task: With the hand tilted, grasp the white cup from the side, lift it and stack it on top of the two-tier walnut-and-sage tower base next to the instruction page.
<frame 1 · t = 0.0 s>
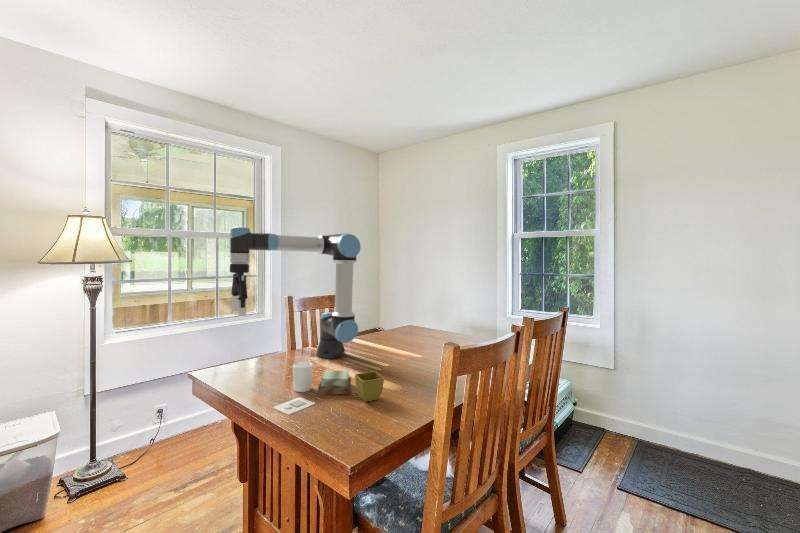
hand: (238, 312, 157), 28 cm above the table, tool pointing down, fingers open, 13 cm apart
tower base: (335, 389, 148), on the table
instruction page: (294, 405, 131), on the table
flower pot: (368, 399, 139), on the table
white cup: (302, 389, 147), on the table
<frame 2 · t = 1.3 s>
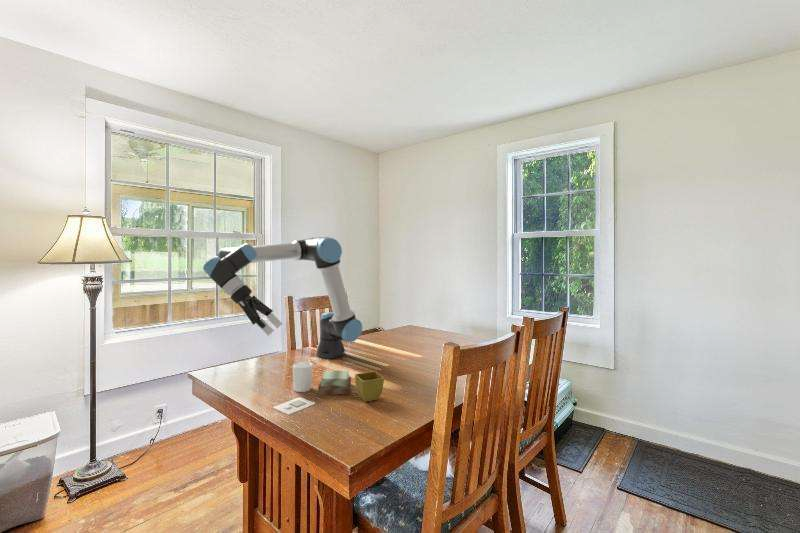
hand: (275, 329, 145), 24 cm above the table, tool tilted 45°, fingers open, 13 cm apart
nothing on the table moved.
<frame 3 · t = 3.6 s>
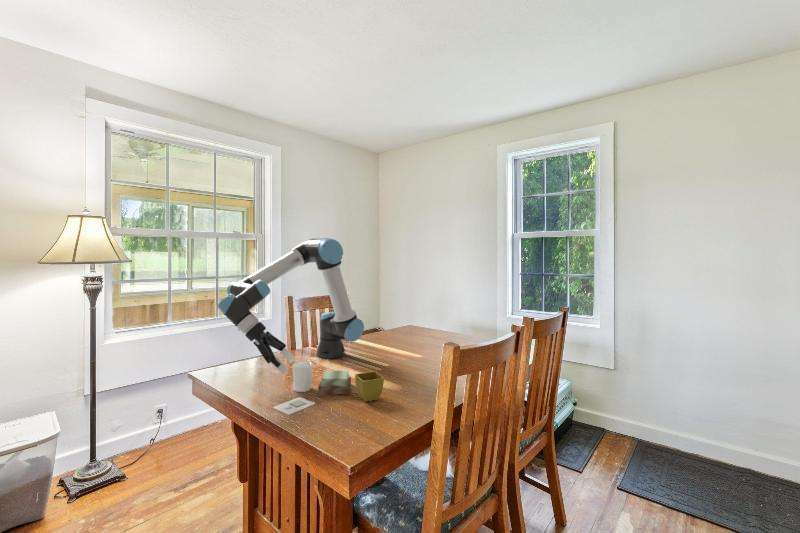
hand: (289, 366, 146), 10 cm above the table, tool tilted 45°, fingers open, 13 cm apart
nothing on the table moved.
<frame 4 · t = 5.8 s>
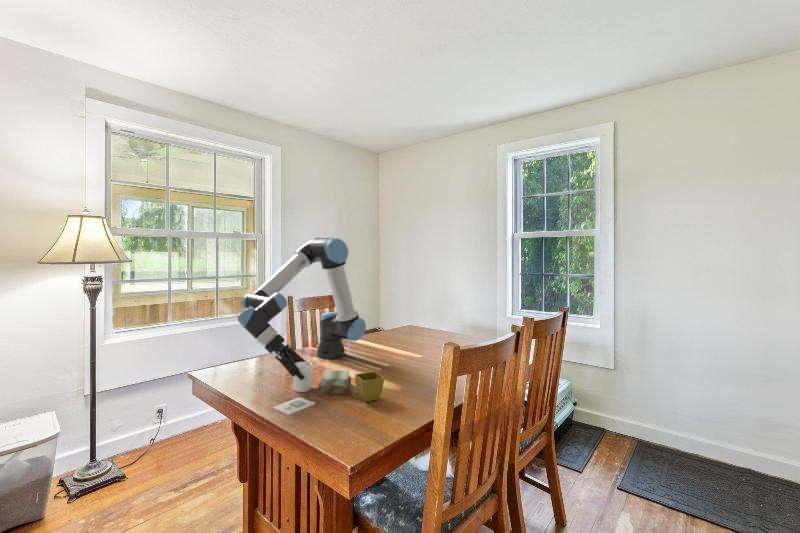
hand: (311, 380, 147), 4 cm above the table, tool tilted 45°, fingers closed on white cup, 8 cm apart
white cup: (302, 389, 147), on the table, touching gripper
everything else where it was.
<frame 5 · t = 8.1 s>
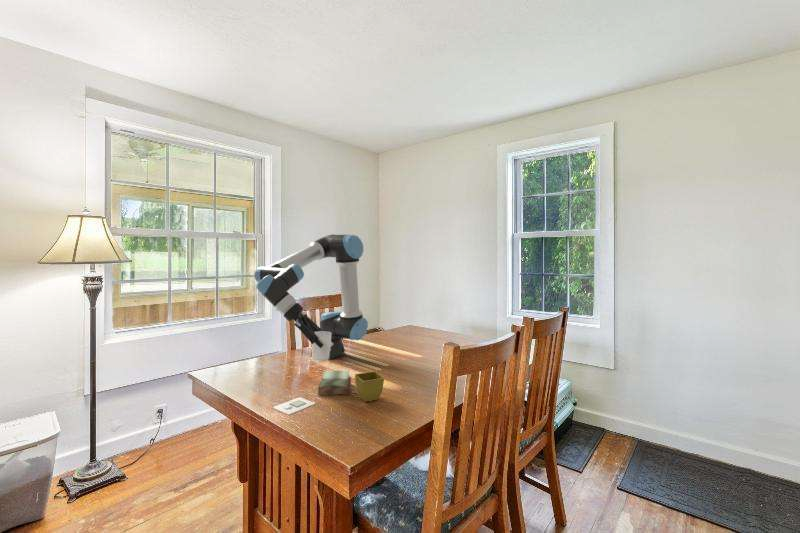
hand: (329, 349, 147), 16 cm above the table, tool tilted 45°, fingers closed on white cup, 8 cm apart
white cup: (320, 358, 147), point 13 cm above the table, touching gripper
everything else where it was.
when the fingers open (11 cm above the table, at t = 10.5 s): white cup drops 1 cm, resting on tower base.
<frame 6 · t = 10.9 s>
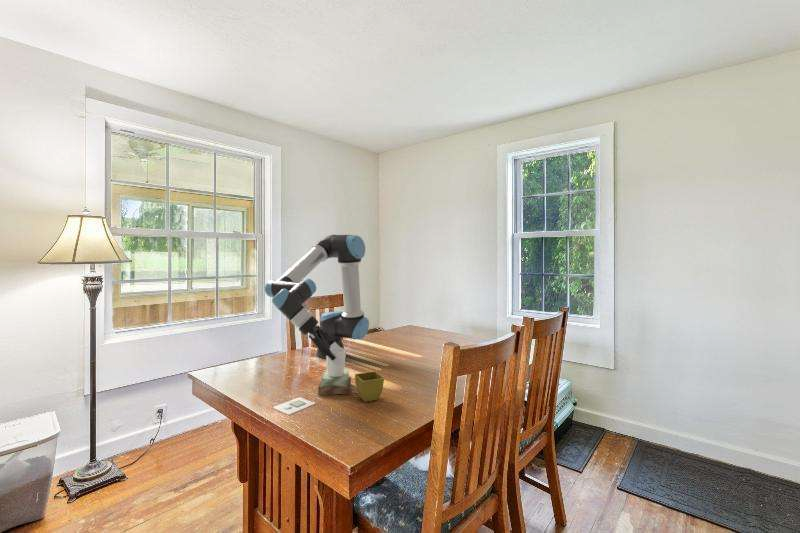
hand: (341, 359, 148), 12 cm above the table, tool tilted 45°, fingers open, 13 cm apart
white cup: (335, 374, 148), point 6 cm above the table, touching tower base
everything else where it was.
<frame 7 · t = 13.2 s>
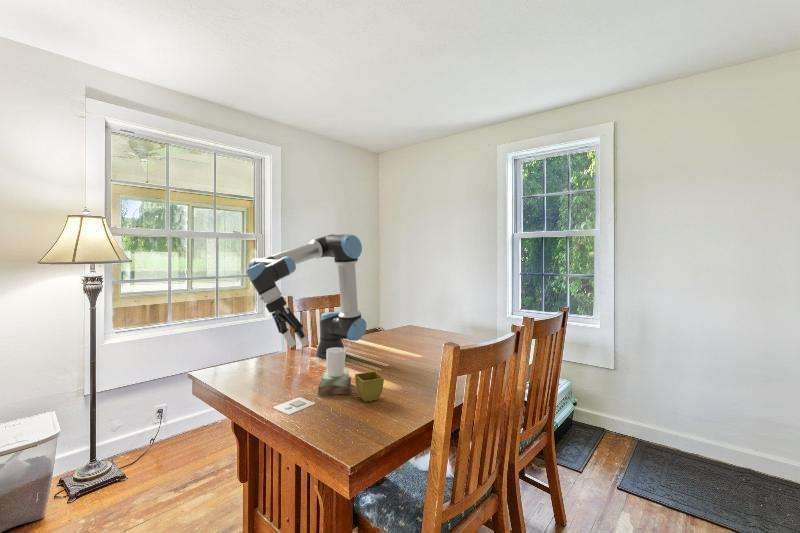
hand: (299, 345, 149), 17 cm above the table, tool tilted 30°, fingers open, 13 cm apart
nothing on the table moved.
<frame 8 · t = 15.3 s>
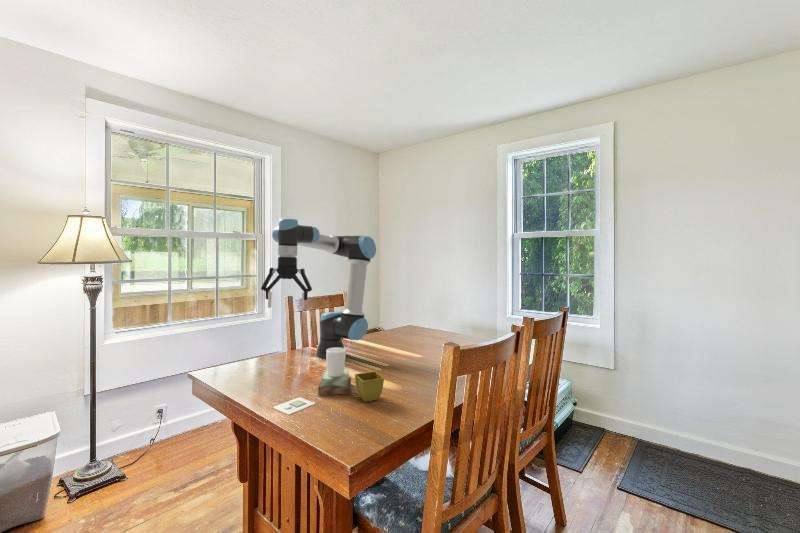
hand: (286, 307, 152), 32 cm above the table, tool pointing down, fingers open, 13 cm apart
nothing on the table moved.
at the end: white cup 0.2 cm from the tower base (horizontally); white cup point 5.8 cm above the table; white cup tilted 0° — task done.
